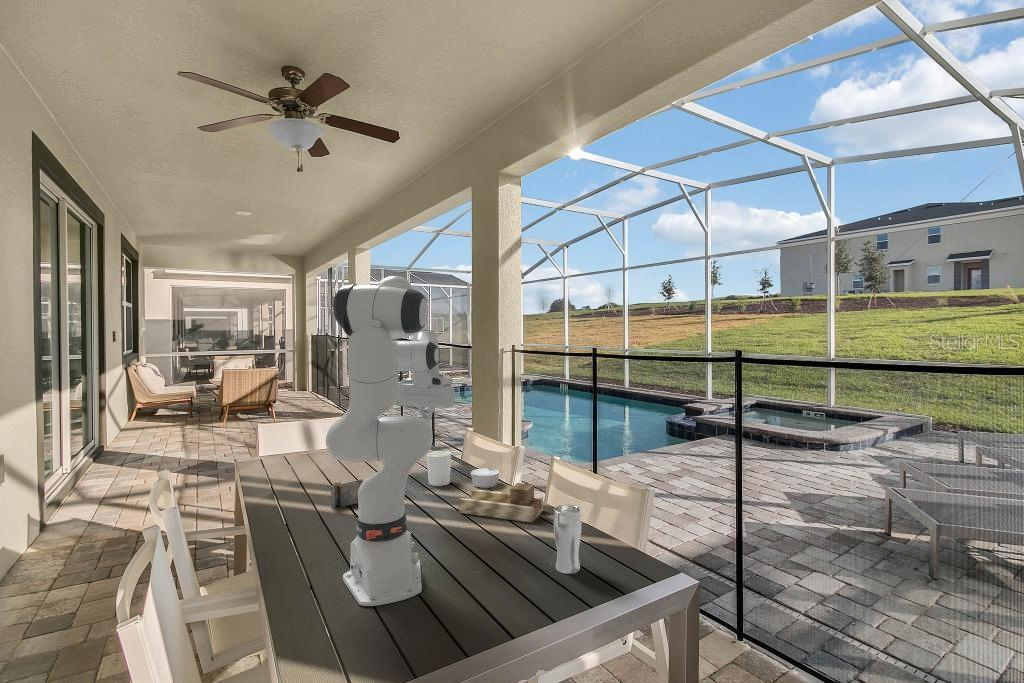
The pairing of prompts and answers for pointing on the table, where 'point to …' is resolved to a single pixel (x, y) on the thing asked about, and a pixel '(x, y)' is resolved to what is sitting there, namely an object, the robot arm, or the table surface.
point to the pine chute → (499, 506)
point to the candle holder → (439, 467)
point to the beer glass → (567, 537)
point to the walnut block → (522, 494)
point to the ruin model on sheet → (345, 493)
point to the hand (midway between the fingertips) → (426, 420)
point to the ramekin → (485, 477)
